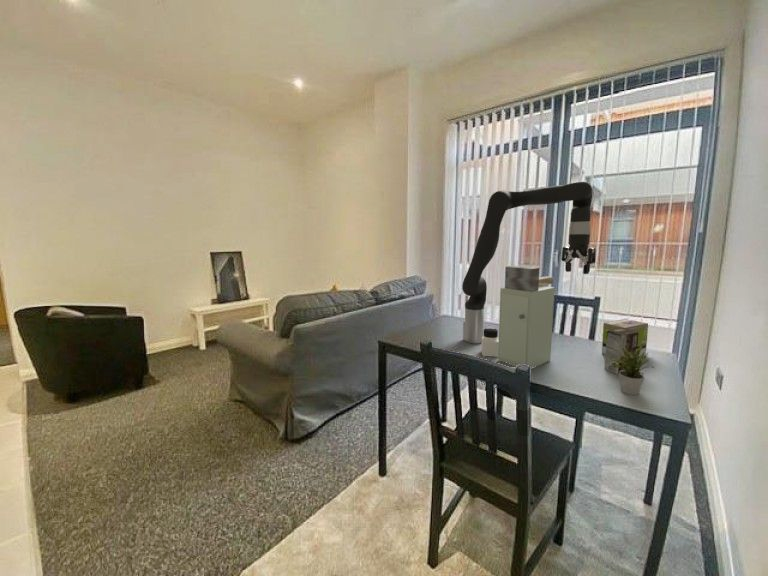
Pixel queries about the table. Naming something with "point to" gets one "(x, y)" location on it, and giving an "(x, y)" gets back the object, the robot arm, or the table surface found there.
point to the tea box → (630, 325)
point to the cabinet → (526, 326)
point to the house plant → (631, 371)
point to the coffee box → (625, 340)
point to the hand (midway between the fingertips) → (576, 272)
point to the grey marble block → (525, 278)
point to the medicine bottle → (490, 342)
